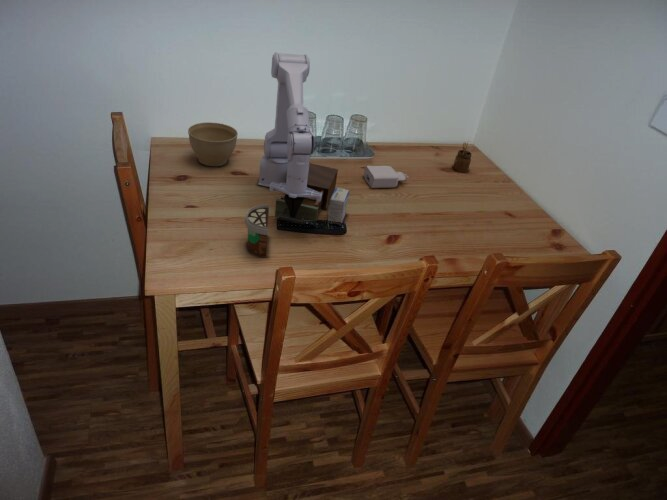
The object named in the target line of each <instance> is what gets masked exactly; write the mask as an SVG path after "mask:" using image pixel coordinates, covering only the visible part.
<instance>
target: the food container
mask: <svg viewBox="0 0 667 500" xmlns="http://www.w3.org/2000/svg"><path fill="white" fill-rule="evenodd" d="M269 213H270V204H259V205H255V206H253V207H251V208H250V209H249V210H248V211H247V213H246V214H245V217H244V225H245V227H246V228H247V229H246V230H247V247H248V250H249V251H250V253H252V254H253V255H255V256H258V257H263V258H267V250H268V237H269V236H268V235H269V234H268V233H269V216H270V215H269Z"/></svg>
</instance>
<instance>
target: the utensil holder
mask: <svg viewBox="0 0 667 500" xmlns="http://www.w3.org/2000/svg"><path fill="white" fill-rule="evenodd" d="M471 143H472V141H467V142H465V141H464V142H463V144H462V149H460V150H458V152H457V154H456V156H455V158H454V161H453V165H452V168H453V170H454V171H456V172H459V173H466V172H468V171H469V168H470V165H471V163H472V152H471V150H472V148H469V146H470V144H471ZM467 149H469V150H467Z"/></svg>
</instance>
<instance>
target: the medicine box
mask: <svg viewBox="0 0 667 500" xmlns="http://www.w3.org/2000/svg"><path fill="white" fill-rule="evenodd" d="M349 196H350V190H349V189H347V188H342V187H335V191H334V193H333V195H332V197H331V199H330V202H329V204H328V213H327V220H328V221H336V222H341V223H342V224H343V222H344V220H345V217H346V214H347V209H348V202H349Z"/></svg>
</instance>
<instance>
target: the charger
mask: <svg viewBox="0 0 667 500" xmlns="http://www.w3.org/2000/svg"><path fill="white" fill-rule="evenodd" d="M363 178H364V180H365V182H366V183H367V185H368V186H369V187H370V188H371V189H389V188H390V189H391V188H393V189H394V188H396V187H397V186H398V184H399V182H406V179H409V178H410V176H408V174H406V173H405V174H404V173H403V171H396V170H395V169H394V168H393V167H392V166H390V165H365V166H364V171H363Z"/></svg>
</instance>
